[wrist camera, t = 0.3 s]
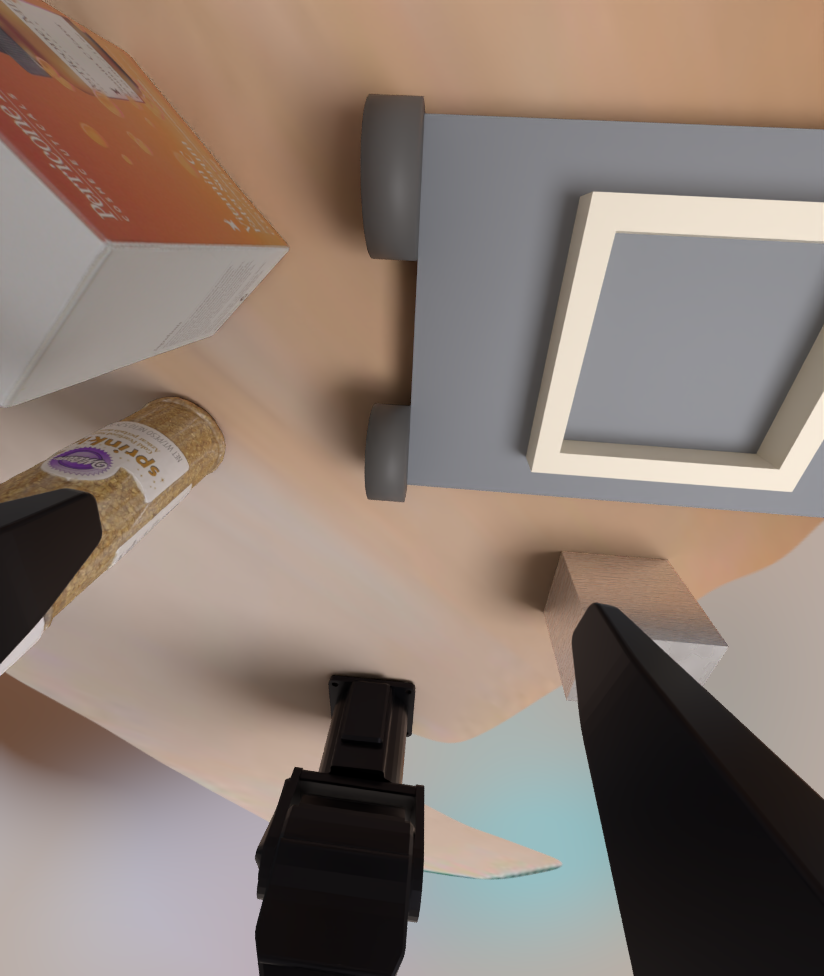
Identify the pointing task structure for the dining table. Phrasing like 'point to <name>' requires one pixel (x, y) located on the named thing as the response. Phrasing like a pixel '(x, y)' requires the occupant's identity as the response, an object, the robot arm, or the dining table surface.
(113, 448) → the sprinkles bottle
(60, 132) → the small box
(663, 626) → the block
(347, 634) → the dining table surface
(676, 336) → the chassis
